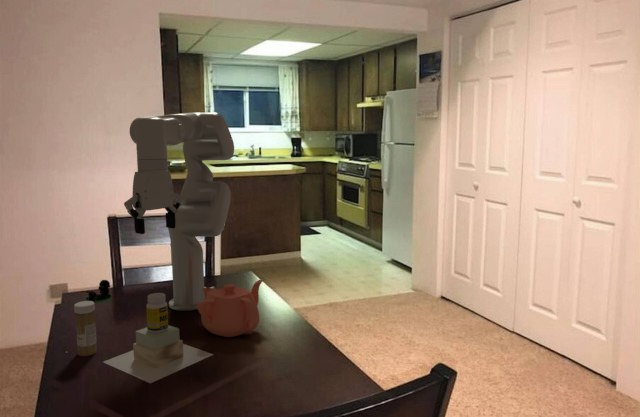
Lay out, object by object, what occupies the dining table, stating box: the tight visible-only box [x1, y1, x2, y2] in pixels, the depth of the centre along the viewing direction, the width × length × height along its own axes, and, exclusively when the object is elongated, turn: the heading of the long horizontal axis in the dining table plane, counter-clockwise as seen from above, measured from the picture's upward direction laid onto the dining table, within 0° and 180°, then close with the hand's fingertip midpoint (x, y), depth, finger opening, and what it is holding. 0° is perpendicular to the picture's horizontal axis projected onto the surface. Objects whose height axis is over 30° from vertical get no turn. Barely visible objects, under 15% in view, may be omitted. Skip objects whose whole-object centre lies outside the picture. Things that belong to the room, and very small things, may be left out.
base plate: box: [102, 343, 214, 384], centre depth 125 cm, size 18×18×1 cm
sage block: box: [135, 324, 181, 350], centre depth 124 cm, size 7×7×3 cm
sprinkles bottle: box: [73, 300, 98, 357], centre depth 127 cm, size 5×5×13 cm
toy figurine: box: [83, 279, 113, 304], centre depth 173 cm, size 10×10×6 cm
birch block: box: [132, 339, 184, 369], centre depth 125 cm, size 8×8×4 cm
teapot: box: [197, 278, 264, 338], centre depth 142 cm, size 16×17×14 cm
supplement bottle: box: [146, 292, 169, 333], centre depth 123 cm, size 5×5×8 cm
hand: (155, 230), depth 139 cm, fingers open, 9 cm apart
